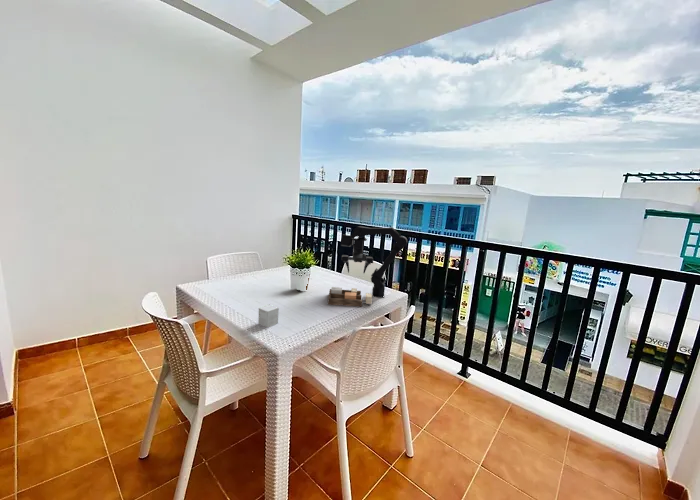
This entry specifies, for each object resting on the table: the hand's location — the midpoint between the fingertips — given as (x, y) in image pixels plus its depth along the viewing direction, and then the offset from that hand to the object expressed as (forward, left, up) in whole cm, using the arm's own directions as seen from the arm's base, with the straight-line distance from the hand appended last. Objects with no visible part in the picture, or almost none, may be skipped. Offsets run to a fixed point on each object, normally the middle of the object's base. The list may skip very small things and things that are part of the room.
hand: (356, 273), depth 166 cm
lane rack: (+6, +15, -12) cm, 20 cm away
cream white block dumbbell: (+7, +11, -11) cm, 17 cm away
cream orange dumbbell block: (-1, +18, -11) cm, 22 cm away
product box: (+39, +49, -12) cm, 64 cm away
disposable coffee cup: (+32, +2, -12) cm, 34 cm away
